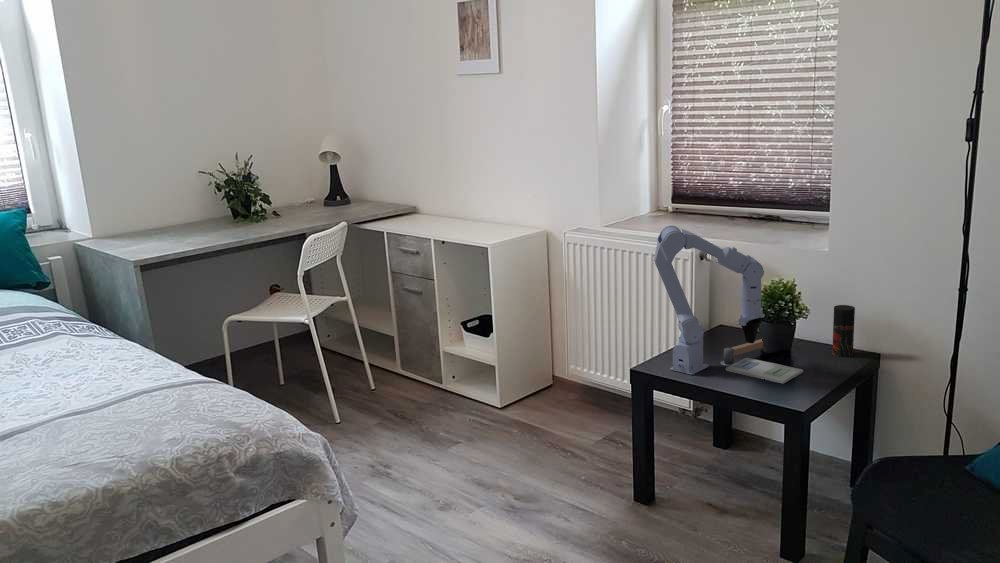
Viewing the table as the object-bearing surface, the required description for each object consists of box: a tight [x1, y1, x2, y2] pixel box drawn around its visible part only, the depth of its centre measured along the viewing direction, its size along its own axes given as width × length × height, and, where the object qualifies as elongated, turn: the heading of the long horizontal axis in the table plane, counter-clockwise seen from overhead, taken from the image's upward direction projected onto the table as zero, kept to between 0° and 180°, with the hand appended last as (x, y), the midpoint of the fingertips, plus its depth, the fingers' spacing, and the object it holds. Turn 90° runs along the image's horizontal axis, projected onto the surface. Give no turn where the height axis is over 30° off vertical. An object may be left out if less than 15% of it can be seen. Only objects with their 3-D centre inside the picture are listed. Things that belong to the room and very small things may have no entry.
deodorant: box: [831, 304, 856, 358], centre depth 253 cm, size 6×6×15 cm
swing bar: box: [723, 338, 764, 364], centre depth 256 cm, size 22×3×4 cm, turn 120°
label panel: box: [720, 357, 804, 384], centre depth 245 cm, size 12×24×1 cm, turn 44°
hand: (750, 342), depth 247 cm, fingers closed
